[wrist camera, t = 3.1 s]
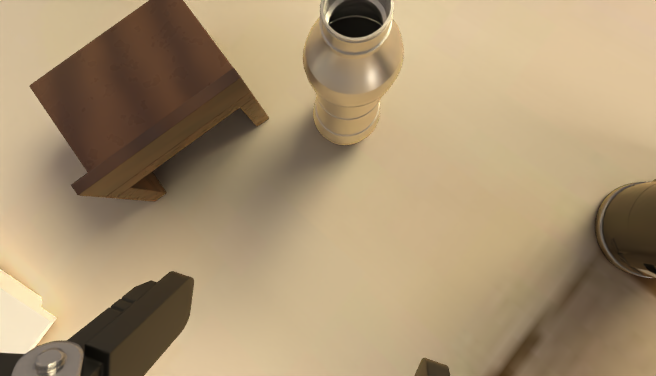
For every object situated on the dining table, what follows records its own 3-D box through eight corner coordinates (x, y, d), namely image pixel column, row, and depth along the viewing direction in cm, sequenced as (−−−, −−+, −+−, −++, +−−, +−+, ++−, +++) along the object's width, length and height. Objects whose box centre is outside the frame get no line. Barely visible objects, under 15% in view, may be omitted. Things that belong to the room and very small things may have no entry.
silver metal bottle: (302, 115, 37) (262, -2, 17) (352, 76, 37) (369, -83, 18) (339, 162, 37) (342, 97, 17) (390, 123, 37) (452, 13, 17)
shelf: (205, 32, 38) (152, -42, 27) (269, 118, 37) (240, 77, 26) (93, 113, 38) (-6, 71, 27) (154, 201, 37) (77, 195, 26)
